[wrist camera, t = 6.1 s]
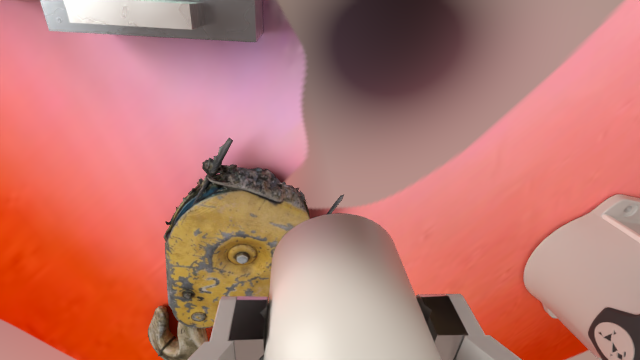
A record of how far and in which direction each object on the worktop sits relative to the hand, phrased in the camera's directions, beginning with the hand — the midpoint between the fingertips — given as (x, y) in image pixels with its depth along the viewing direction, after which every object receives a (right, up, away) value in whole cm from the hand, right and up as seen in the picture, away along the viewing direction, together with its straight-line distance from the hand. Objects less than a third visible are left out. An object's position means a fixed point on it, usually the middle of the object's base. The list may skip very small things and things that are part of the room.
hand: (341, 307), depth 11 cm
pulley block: (-12, -5, +26) cm, 29 cm away
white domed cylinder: (0, +1, +2) cm, 2 cm away
